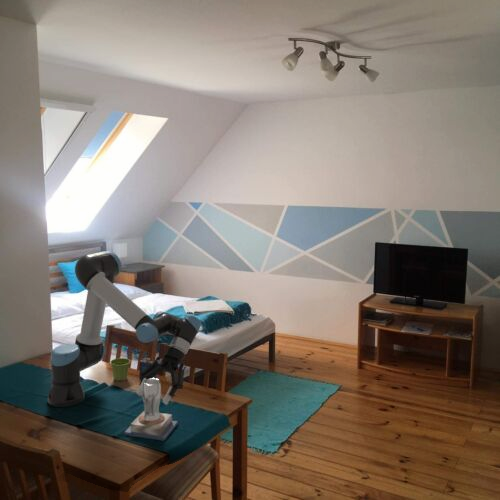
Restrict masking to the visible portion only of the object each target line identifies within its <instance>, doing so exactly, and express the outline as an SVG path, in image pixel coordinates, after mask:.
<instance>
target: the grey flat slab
mask: <svg viewBox="0 0 500 500" xmlns="http://www.w3.org/2000/svg"><path fill="white" fill-rule="evenodd" d="M178 423H179V421H177V420H172V422H171V424H170V425H169V426H168V427H167V428H166V430H165V431H164V432H163V433H162V434H161V435H160V436H159V435H152V434H145V433H137V432H131V425H130V426H129V427H128V428H127V429H125V431H124V436H129V437H135V438H136V437H138V438H141V439H142V438H143V439H148V440H149V439H150V440H158V441H162V442H163V441H165V440H166V439H167V438H168V437H169V436H170V434H171V433H172V432H173V431H174V429H176V427H177V426H178Z"/></svg>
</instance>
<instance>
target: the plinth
mask: <svg viewBox="0 0 500 500" xmlns="http://www.w3.org/2000/svg"><path fill="white" fill-rule="evenodd" d="M144 413H145V410H143V411H142V412H141V413H140V414H139V415H138V416H137V417H136V418H135V419H134V420H133V421H132V422H131V423H130V426H131V432H137V433H145V434H152V435H159V436H160V435H161V434H162V433H163V432H164V431H165V430H166V428H167V427H168V426H169V425H170V424H171V422H172V421H173V414H170V413H161V412H159V416H160V418H159V420H157V421H155V422H147V421H145V420H144Z"/></svg>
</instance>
